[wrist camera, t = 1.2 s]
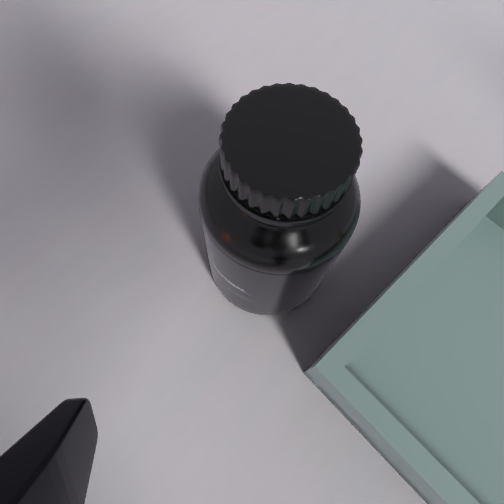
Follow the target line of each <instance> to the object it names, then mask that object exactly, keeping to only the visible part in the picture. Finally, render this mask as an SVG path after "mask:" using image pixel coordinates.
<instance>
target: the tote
mask: <svg viewBox="0 0 504 504" xmlns="http://www.w3.org/2000/svg"><path fill="white" fill-rule="evenodd" d="M304 374H305V375H306V376H307V377H308V378H309V379H310V380H311V381H312V382H313V384H314V385H315V386H316V387H317V388H318V389H319V390H320V391H321V392H322V393H323V394H324V395H325V396H326V397H327V398H328V399H329V400H330V401H331V403H332V404H333V405H334V406H335V407H336V408H337V409H338V410H339V411H340V412H341V413H342V414H343V415H344V416H345V417H346V418H347V419H348V420H349V422H350V423H351V424H352V425H353V426H354V427H355V428H356V429H357V430H358V431H359V432H360V433H361V434H362V435H363V436H364V437H365V438H366V439H367V441H368V442H369V443H370V444H371V445H372V446H373V447H374V448H375V449H376V450H377V451H378V452H379V453H380V454H381V455H382V456H383V457H384V458H385V460H386V461H387V462H388V463H389V464H390V465H391V466H392V467H393V468H394V469H395V470H396V471H397V472H398V473H399V474H400V475H401V476H402V477H403V478H404V480H405V481H406V482H407V483H408V484H409V485H410V486H411V487H412V488H413V489H414V490H415V491H416V492H417V493H418V494H419V495H420V496H421V497H422V499H423V500H424V501H425V502H426V503H427V504H504V172H500V173H499V174H498V175H497V176H496V177H495V178H494V179H493V180H492V181H491V182H490V183H489V184H487V185H486V186H485V187H484V188H483V189H482V190H481V191H480V192H479V193H478V194H477V195H476V196H475V197H473V198H472V199H471V200H470V201H469V202H468V203H467V204H466V205H465V206H464V207H463V208H462V209H461V210H460V211H459V212H458V214H457V215H456V216H455V217H454V218H453V219H452V220H451V221H450V222H449V223H448V224H447V225H446V226H445V227H444V228H443V229H442V230H441V231H440V232H439V233H438V234H437V235H436V236H435V237H434V238H433V239H432V240H431V241H430V243H429V244H428V245H427V246H426V247H425V248H424V249H423V250H422V251H421V252H420V253H419V254H418V255H417V256H416V257H415V258H414V259H413V260H412V261H411V262H410V263H409V264H408V265H407V266H406V267H405V268H404V269H403V270H402V272H401V273H400V274H399V275H398V276H397V277H396V278H395V279H394V280H393V281H392V282H391V283H390V284H389V285H388V286H387V287H386V288H385V289H384V290H383V291H382V292H381V293H380V294H379V295H378V296H377V297H376V298H375V299H374V301H373V302H372V303H371V304H370V305H369V306H368V307H367V308H366V309H365V310H364V311H363V312H362V313H361V314H360V315H359V316H358V317H357V318H356V319H355V320H354V321H353V322H352V323H351V324H350V325H349V326H348V327H347V328H346V330H345V331H344V332H343V333H342V334H341V335H340V336H339V337H338V338H337V339H336V340H335V341H334V342H333V343H332V344H331V345H330V346H329V347H328V348H327V349H326V350H325V351H324V352H323V353H322V354H321V355H320V356H319V357H318V359H317V360H316V361H315V362H314V363H313V364H312V365H311V366H310V367H309V368H308V369H307V370H306V371H305V372H304Z"/></svg>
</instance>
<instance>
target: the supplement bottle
mask: <svg viewBox="0 0 504 504" xmlns="http://www.w3.org/2000/svg"><path fill="white" fill-rule="evenodd" d="M359 133H360V128H359V127H358V126H357V125H356V123H355V118H354V117H353V116H352V115H350V114H349V111H348V109H347V108H346V107H345V106H343V105H341V103H340V102H339V101H338V100H337V99H335V98H332V97H331V96H330V95H329V94H328V93H326V92H322V91H320V90H318V89H317V88H315V87H307V86H305V85H303V84H299V85H295V84H292V83H287V84H277V83H276V84H274V85H271V86H263V87H261V88H260V89H257V90H252V91H251V92H250V93H249V94H248V95H245V96H242V97H241V98H240V100H239V102H237V103H235V104H233V106H232V109H231V110H230V111H229V112H228V113H227V114H226V117H225V121H224V122H223V123H222V125H221V134H220V137H219V147H220V148H219V149H218V150H217V151H216V152H215V154H214V155H213V156H212V157H211V159H210V160H209V162H208V164H207V165H206V167H205V169H204V172H203V175H202V177H201V181H200V185H199V210H200V216H201V222H202V227H203V233H204V238H205V243H206V249H207V254H208V259H209V264H210V269H211V273H212V276H213V279H214V281H215V283H216V285H217V287H218V289H219V290H220V291H221V293H222V294H223V295H224V296H225V297H226V298H227V299H228V300H229V301H230V302H231V303H233V304H234V305H235V306H237V307H239V308H241V309H243V310H245V311H248V312H251V313H255V314H260V315H275V314H280V313H284V312H287V311H290V310H292V309H294V308H296V307H298V306H299V305H301V304H302V303H303V302H305V301H306V300H307V299H308V298H309V297H310V296H311V295H312V293H313V292H314V291H315V289H316V288H317V287H318V285H319V284H320V282H321V281H322V279H323V278H324V276H325V275H326V273H327V272H328V271H329V269H330V268H331V266H332V265H333V263H334V262H335V260H336V259H337V257H338V256H339V254H340V253H341V251H342V250H343V248H344V247H345V246H346V244H347V243H348V241H349V239H350V237H351V236H352V234H353V232H354V230H355V227H356V225H357V222H358V218H359V213H360V204H361V200H360V190H359V185H358V182H357V179H356V176H355V174H356V172H357V170H358V168H359V165H360V158H361V156H362V152H363V151H362V147H361V144H362V138H361V136H360V134H359Z"/></svg>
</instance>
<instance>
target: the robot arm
mask: <svg viewBox="0 0 504 504" xmlns="http://www.w3.org/2000/svg"><path fill="white" fill-rule="evenodd" d="M97 437H98V432H97V426H96V422H95V418H94V414H93V411H92V407H91V403H90V401H89V400H88V399H87V398H75V399H67V400H65V401H63V402H62V403H60V404H59V405H58V406H57V407H56V408H55V409H54V410H52V411H51V412H50V413H49V414H48V415H47V416H46V417H44V418H43V419H42V420H41V421H40V422H39V423H38V424H37V425H35V426H34V427H33V428H32V429H31V430H30V431H29V432H27V433H26V434H25V435H24V436H23V437H22V438H21V439H19V440H18V441H17V442H16V443H15V444H14V445H13V446H11V447H10V448H9V449H8V450H7V451H6V452H5V453H4V454H2V455H1V456H0V504H84V502H85V498H86V493H87V488H88V483H89V478H90V473H91V468H92V464H93V459H94V454H95V449H96V444H97Z"/></svg>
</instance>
